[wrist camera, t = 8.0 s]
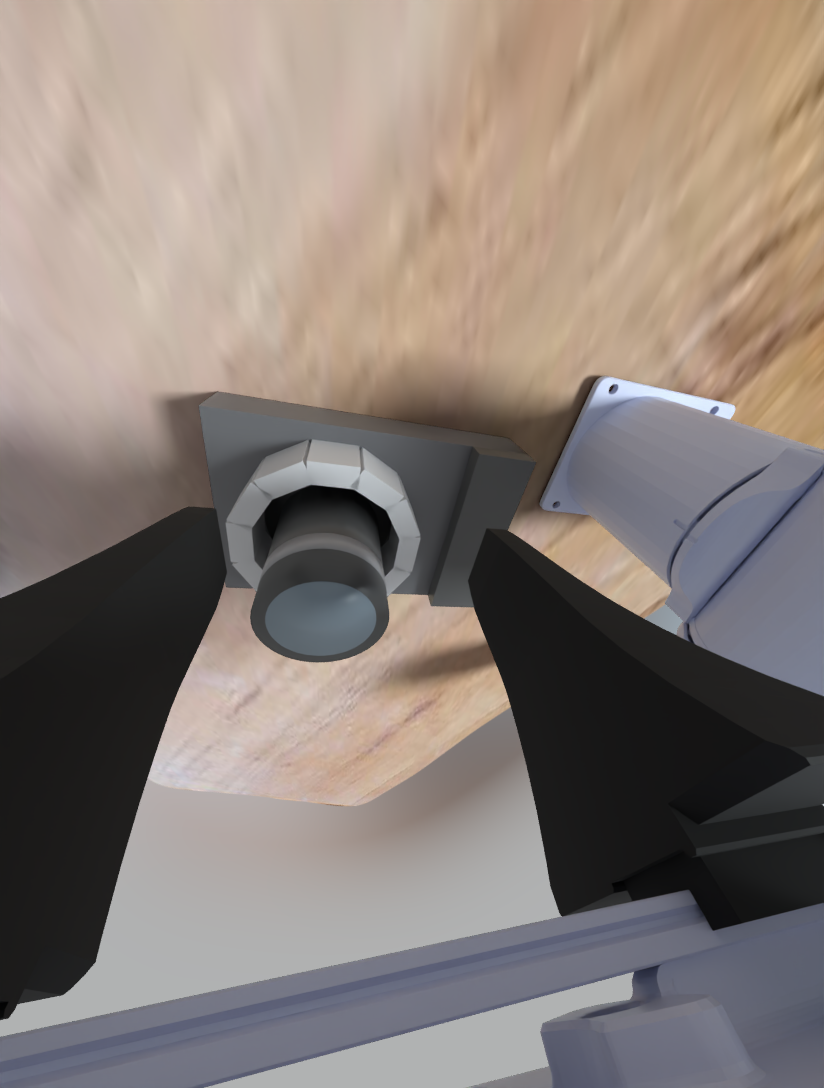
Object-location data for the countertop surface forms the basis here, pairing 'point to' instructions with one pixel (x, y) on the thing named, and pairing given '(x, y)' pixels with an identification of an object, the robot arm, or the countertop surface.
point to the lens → (322, 578)
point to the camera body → (361, 486)
